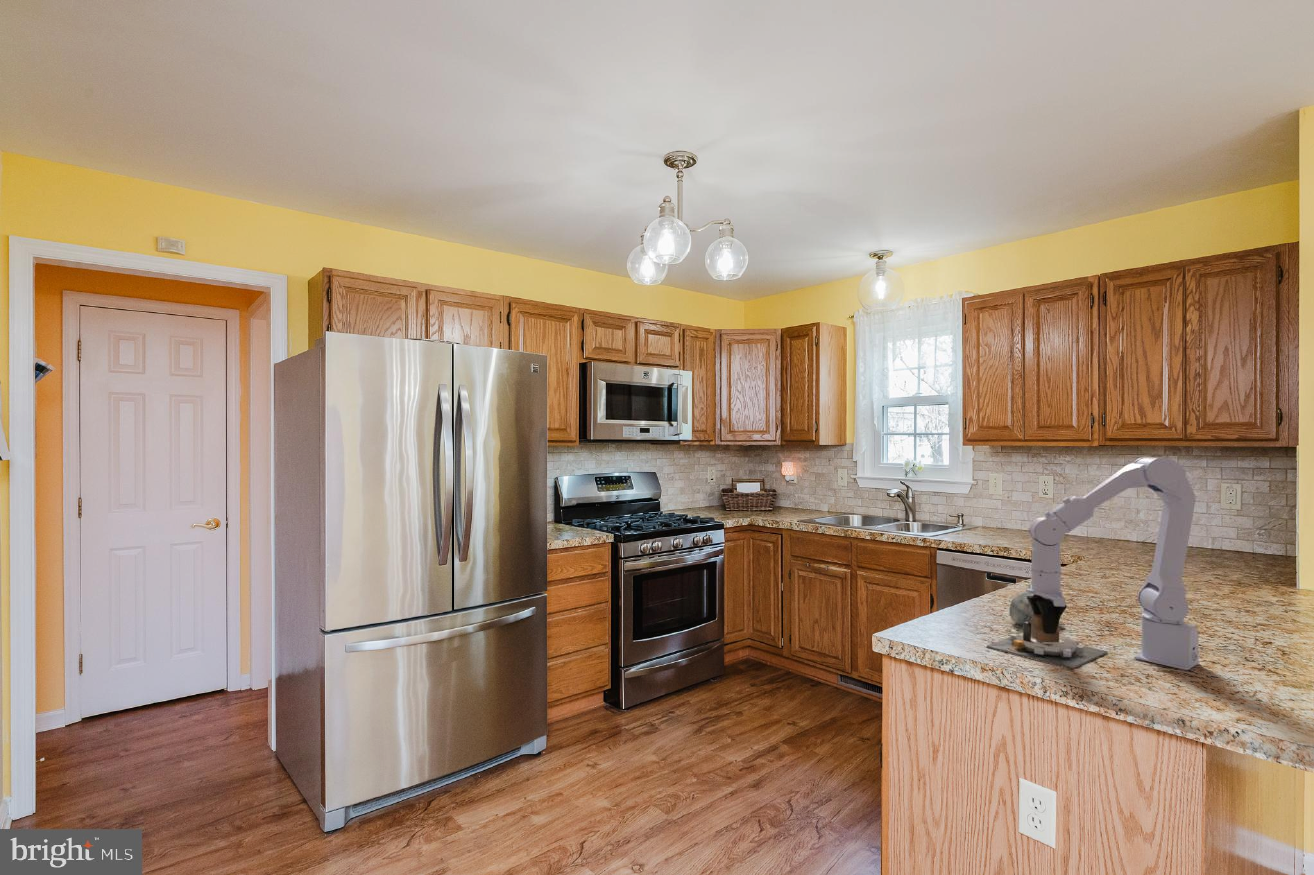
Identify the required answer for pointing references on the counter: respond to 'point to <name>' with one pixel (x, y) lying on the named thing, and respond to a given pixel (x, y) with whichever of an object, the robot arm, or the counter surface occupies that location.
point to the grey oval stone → (1021, 608)
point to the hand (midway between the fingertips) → (1046, 630)
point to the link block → (1041, 630)
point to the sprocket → (1046, 644)
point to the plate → (1066, 662)
